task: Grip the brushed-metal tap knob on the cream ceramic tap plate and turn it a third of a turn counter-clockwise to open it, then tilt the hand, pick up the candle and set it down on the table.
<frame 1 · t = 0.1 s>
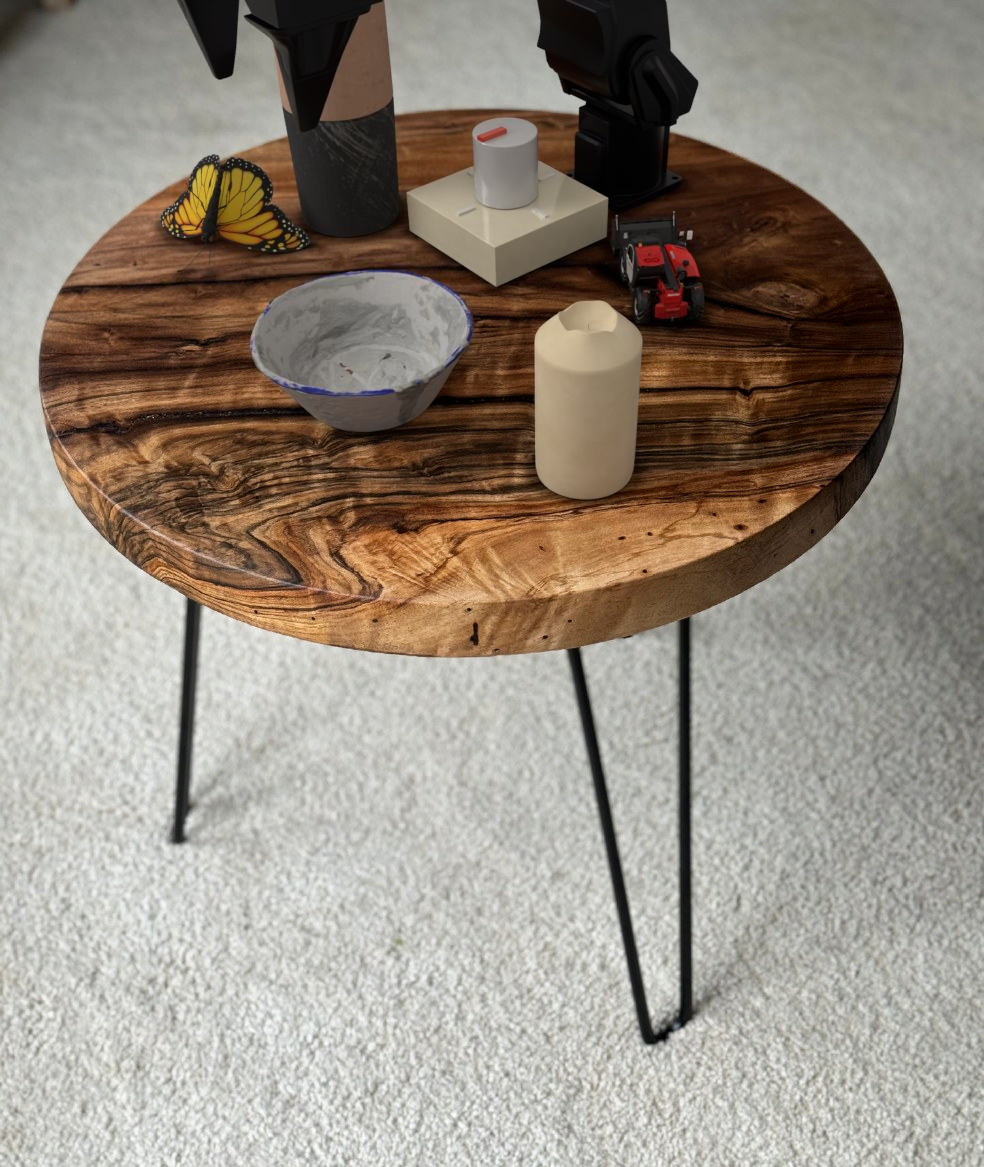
hand: (264, 102, 70), 15 cm above the table, tool pointing down, fingers open, 9 cm apart
candle: (584, 471, 69), on the table
loader: (655, 290, 82), on the table
butterfly: (199, 207, 83), point 4 cm above the table
travel mug: (351, 215, 91), on the table
tap plate: (507, 234, 88), on the table
bowl: (371, 394, 75), on the table
tap knob: (505, 161, 84), point 5 cm above the table, hinge at 0.0°
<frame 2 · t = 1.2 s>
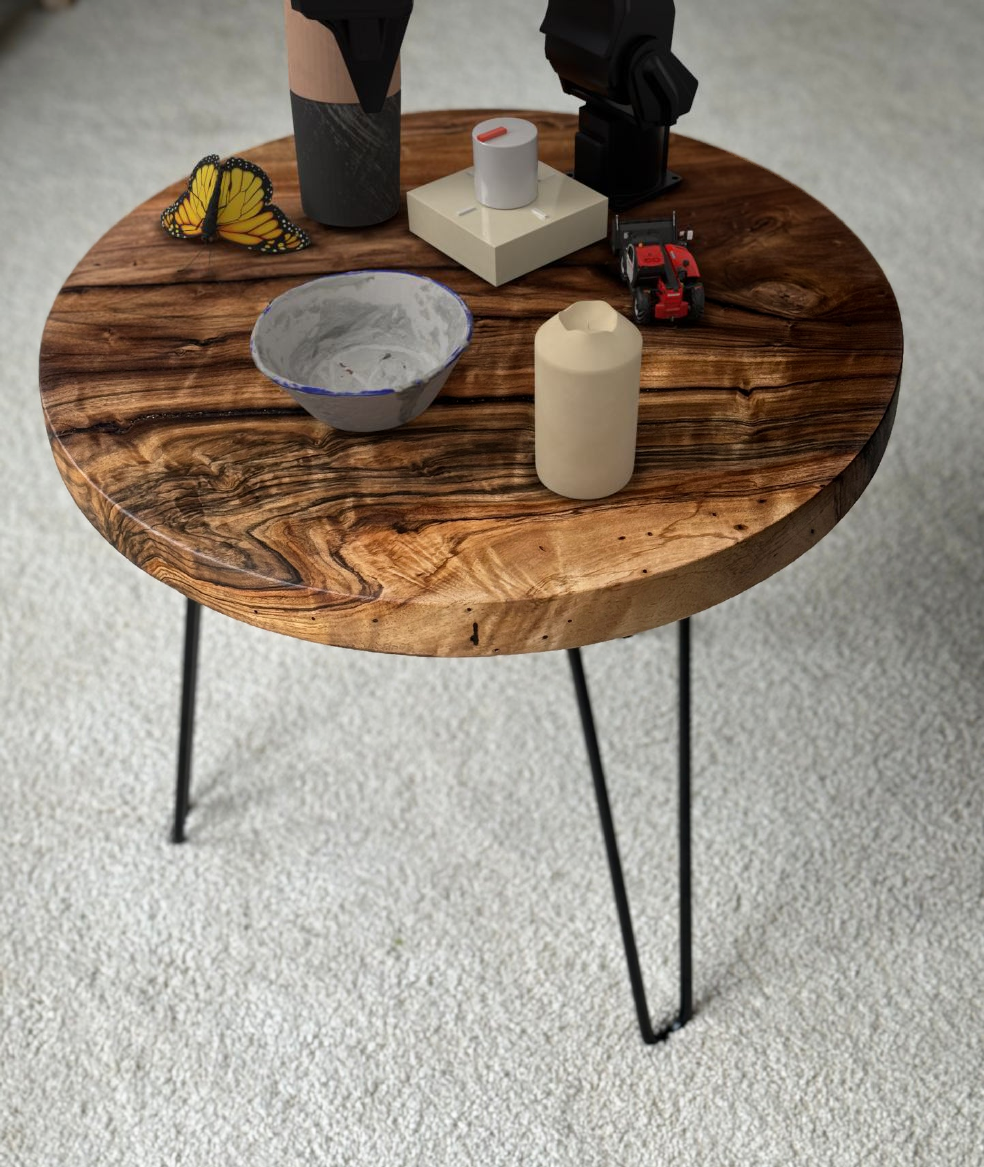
hand: (378, 78, 74), 14 cm above the table, tool pointing down, fingers open, 9 cm apart
travel mug: (351, 210, 90), on the table, touching gripper
everything else where it was.
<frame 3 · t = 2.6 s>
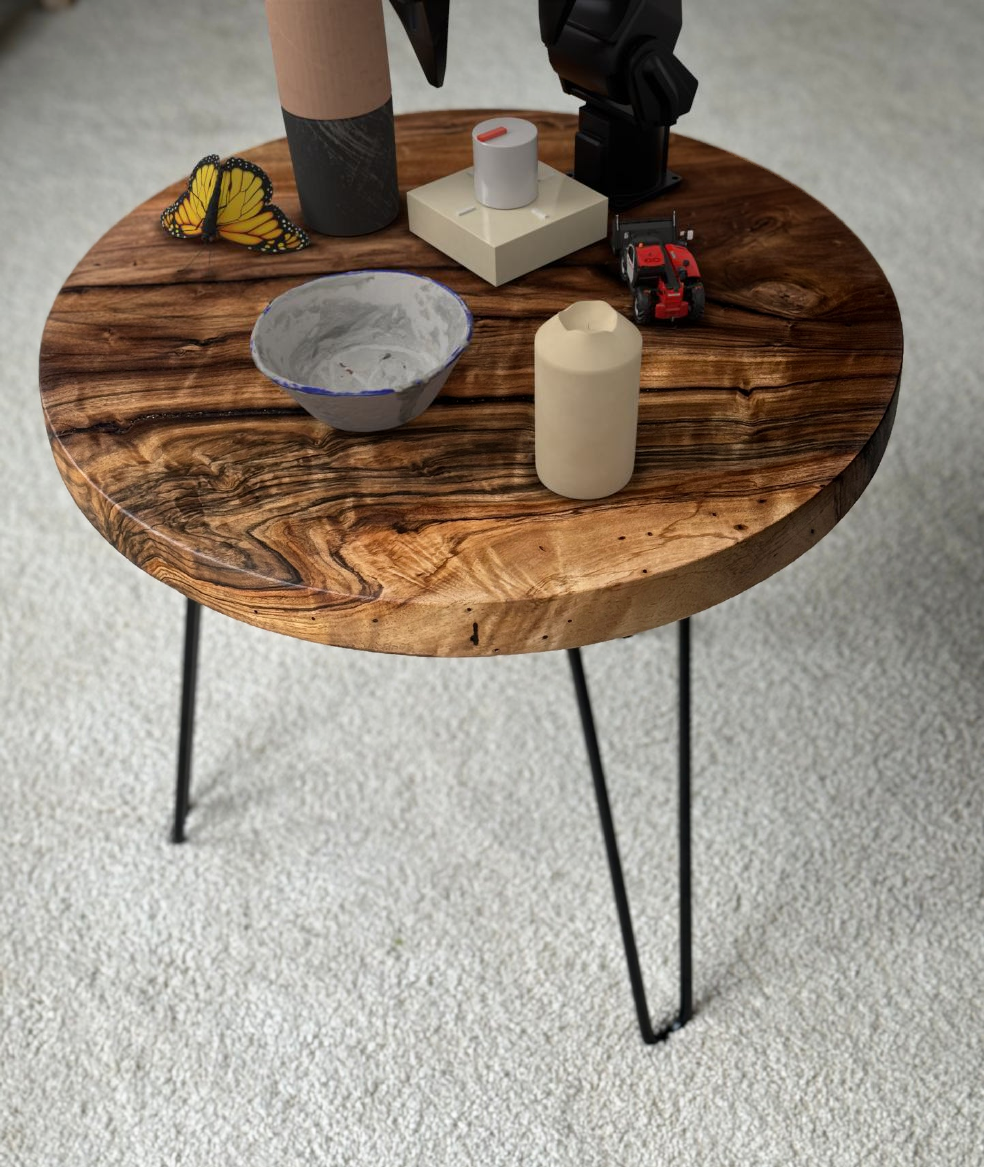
hand: (493, 64, 79), 12 cm above the table, tool pointing down, fingers open, 9 cm apart
travel mug: (351, 215, 91), on the table
everything else where it was.
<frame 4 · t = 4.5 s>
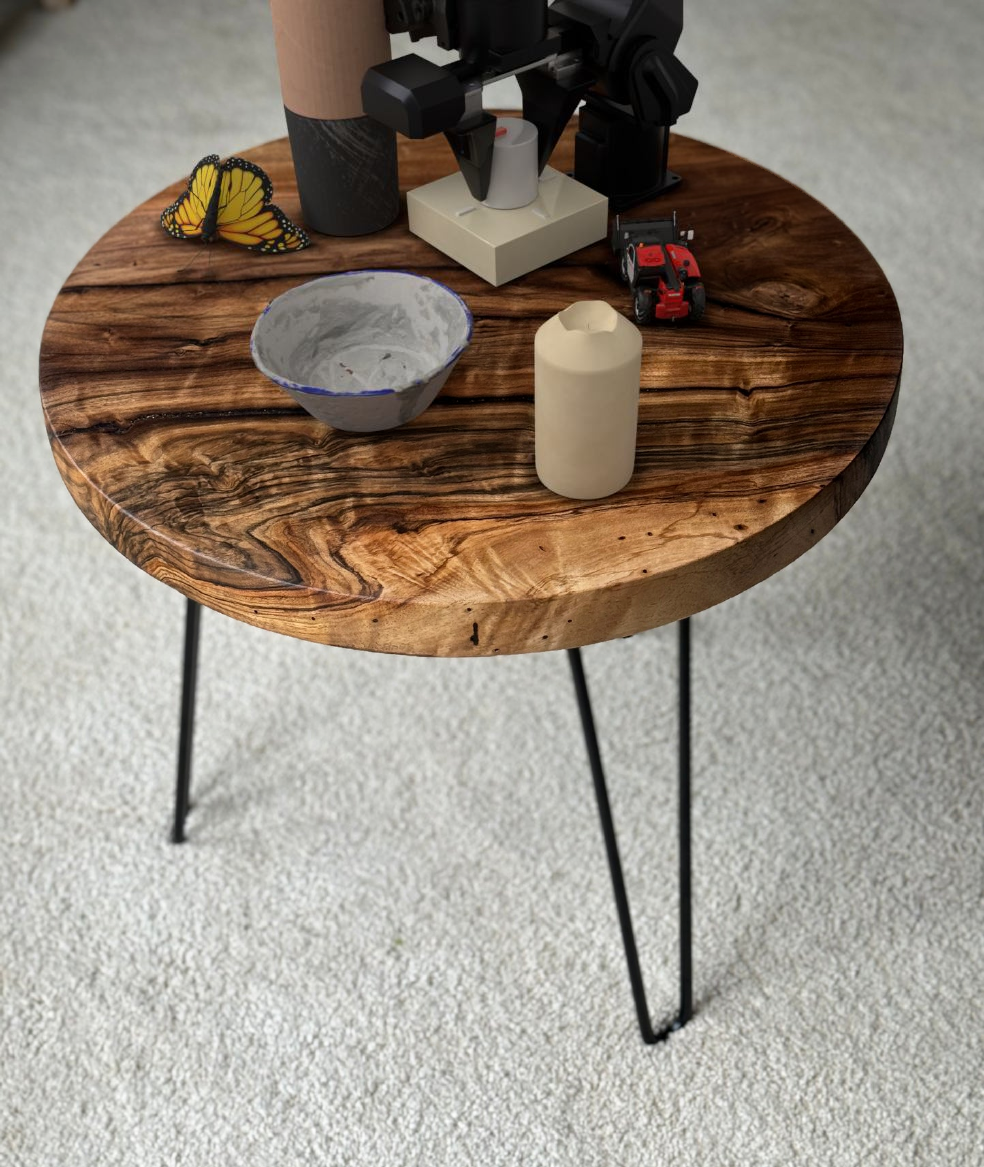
hand: (506, 187, 85), 4 cm above the table, tool pointing down, fingers closed on tap knob, 4 cm apart
tap knob: (505, 161, 84), point 5 cm above the table, hinge at 0.0°, touching gripper
everything else where it was.
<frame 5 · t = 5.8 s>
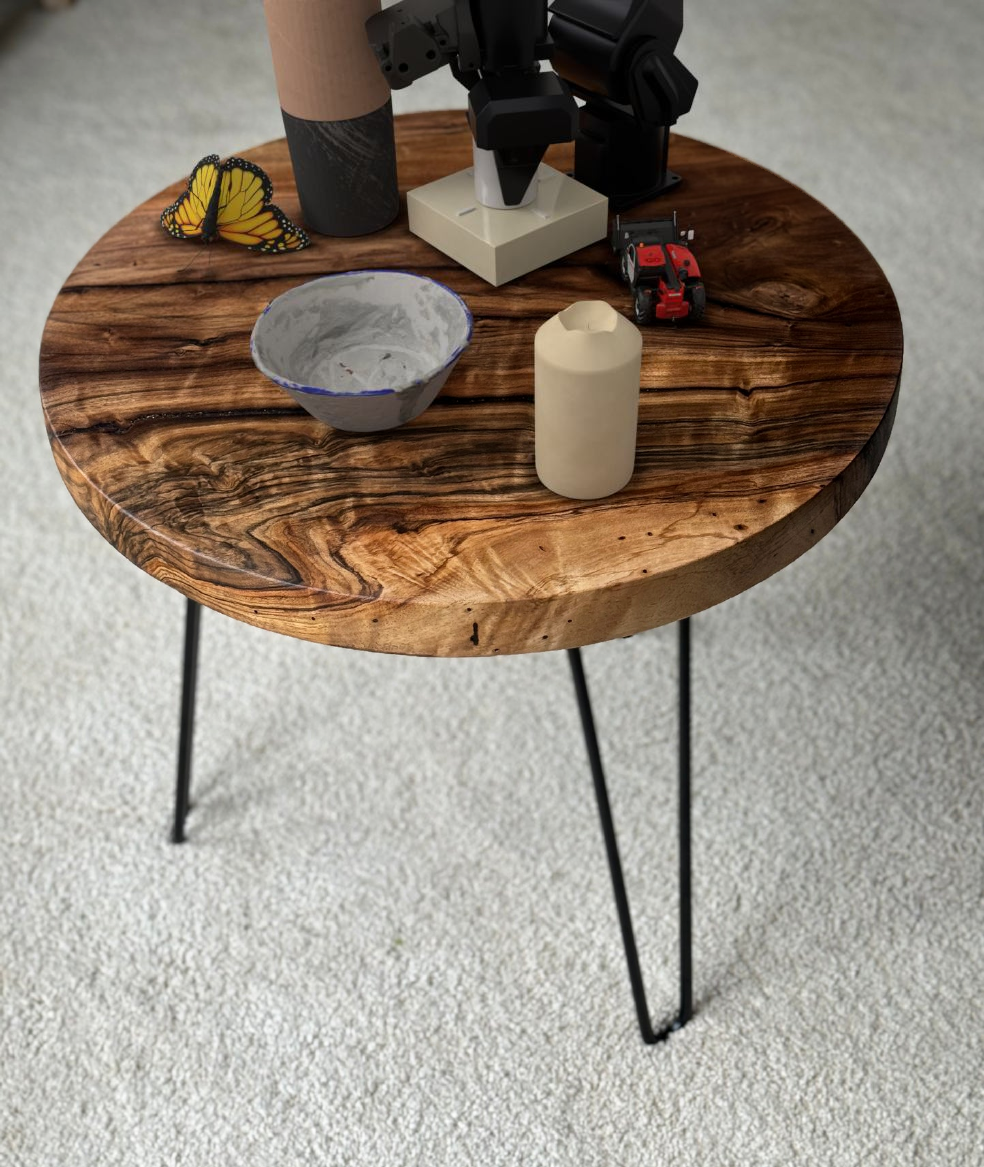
hand: (506, 187, 85), 4 cm above the table, tool pointing down, fingers closed on tap knob, 4 cm apart
tap knob: (505, 161, 84), point 5 cm above the table, hinge at 60.0°, touching gripper
everything else where it was.
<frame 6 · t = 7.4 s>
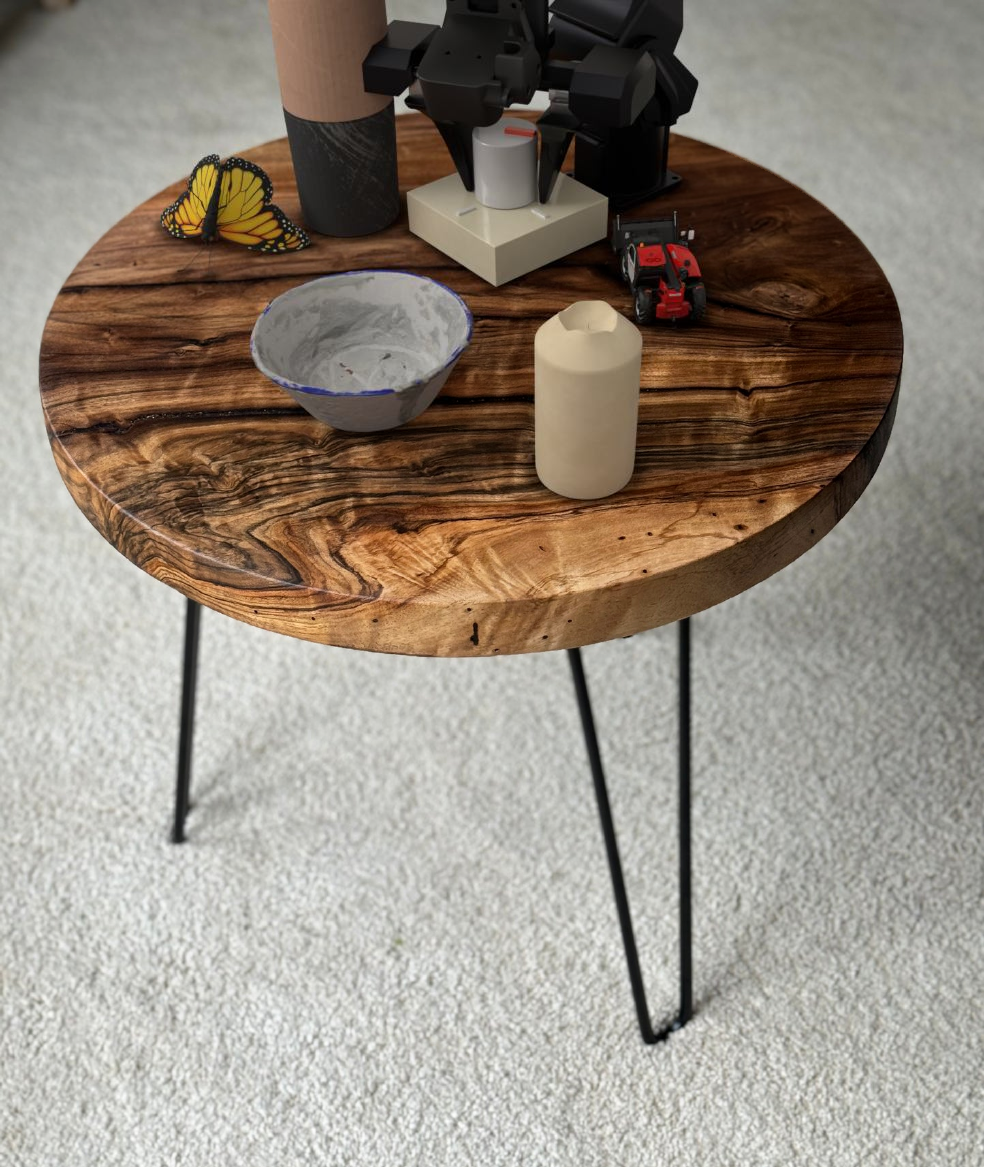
hand: (508, 195, 85), 3 cm above the table, tool pointing down, fingers open, 5 cm apart
tap knob: (505, 161, 84), point 5 cm above the table, hinge at 119.8°
everything else where it was.
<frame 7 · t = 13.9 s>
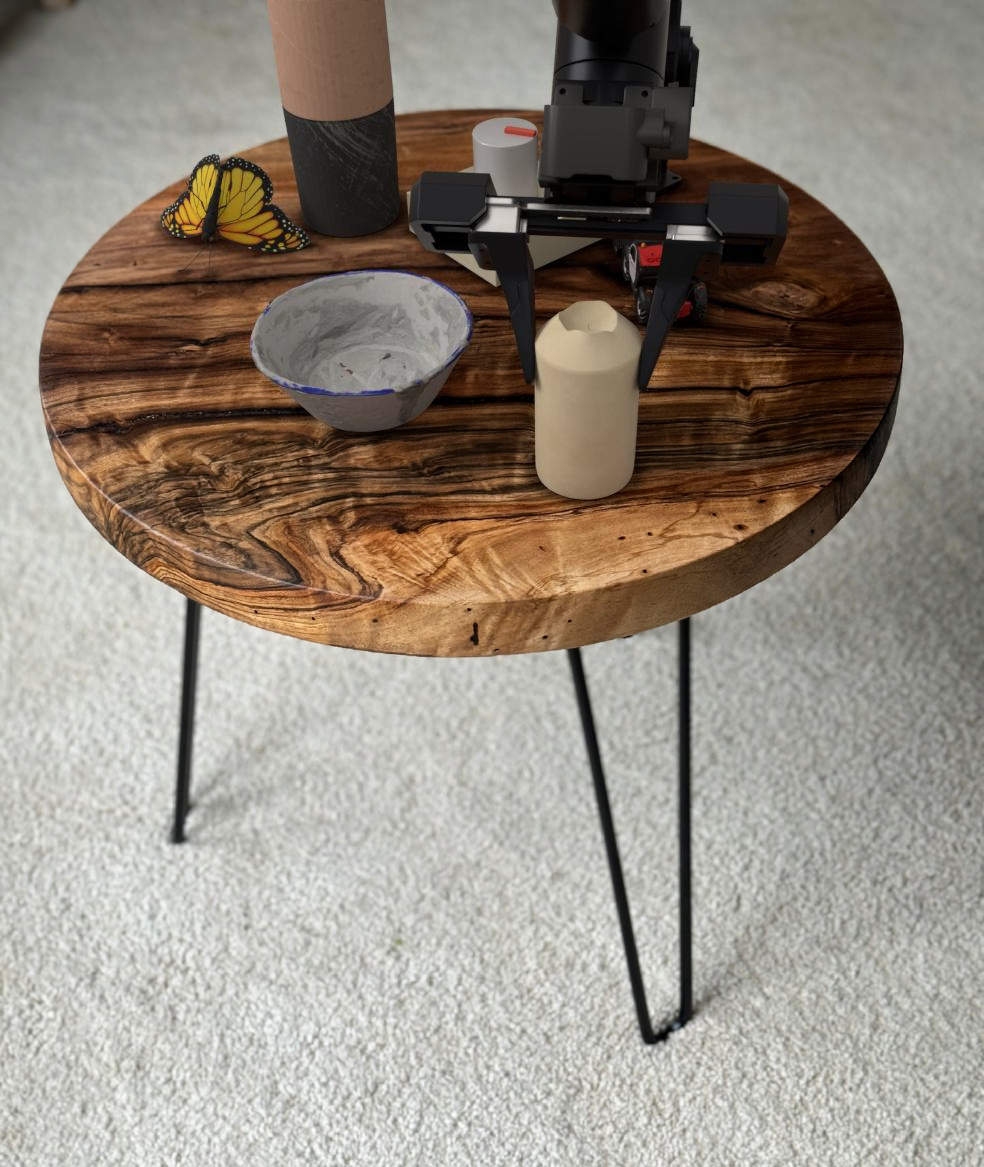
hand: (584, 387, 63), 7 cm above the table, tool tilted 45°, fingers closed on candle, 5 cm apart
candle: (584, 471, 69), on the table, touching gripper
everything else where it was.
when the fingers open (7 cm above the table, at t = 17.5 s): candle stays where it is, on the table.
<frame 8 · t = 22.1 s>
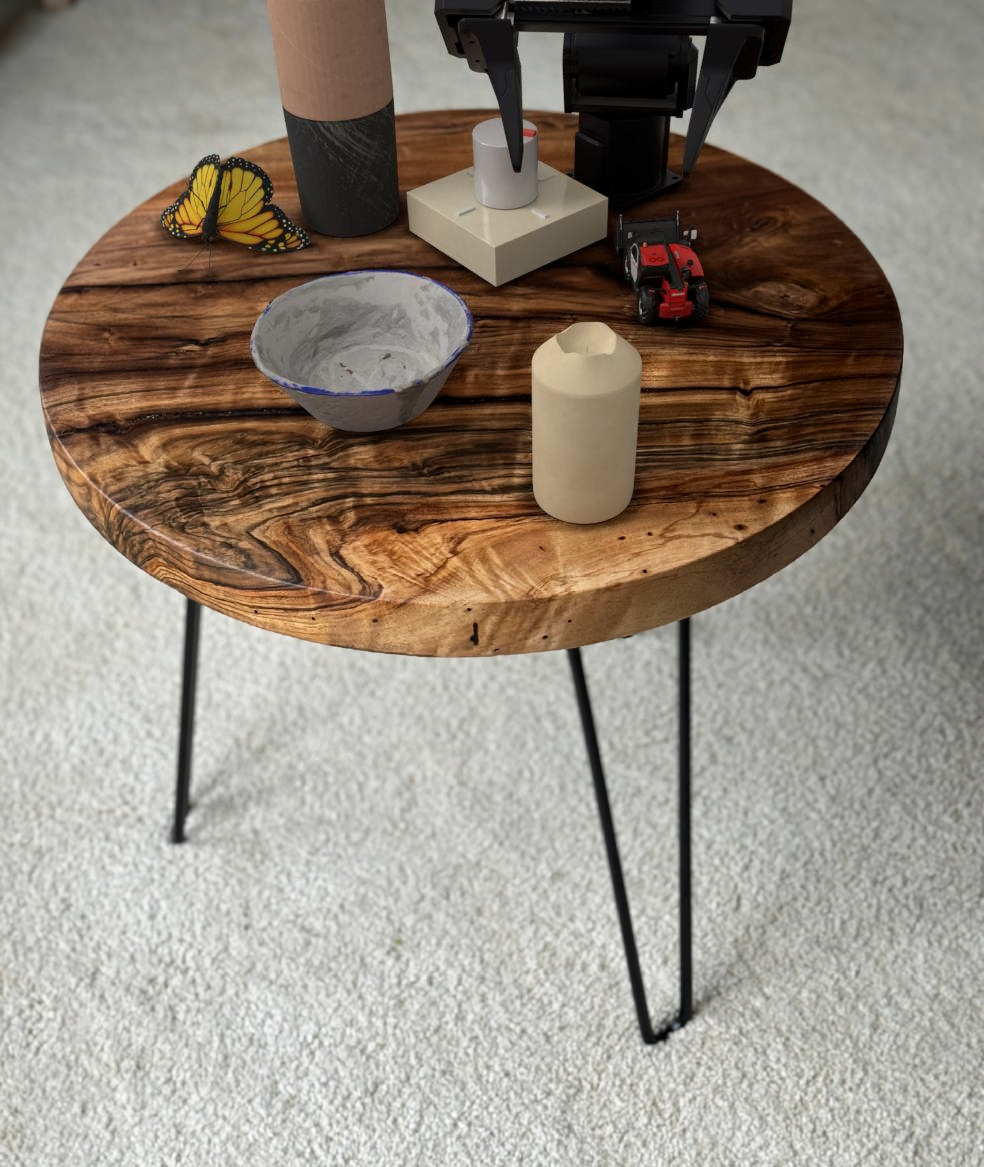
hand: (600, 173, 67), 13 cm above the table, tool tilted 45°, fingers open, 9 cm apart
candle: (582, 494, 68), on the table
everything else where it was.
at the end: tap knob at +120° (first picture: +0°); candle 1.0 cm from the target spot, on the table; candle tilted 0° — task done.
